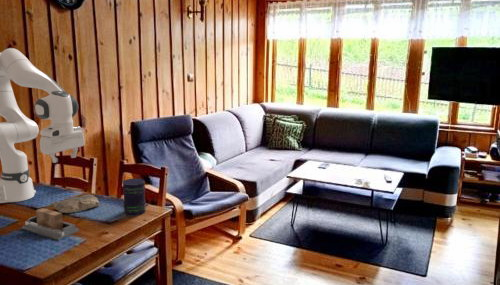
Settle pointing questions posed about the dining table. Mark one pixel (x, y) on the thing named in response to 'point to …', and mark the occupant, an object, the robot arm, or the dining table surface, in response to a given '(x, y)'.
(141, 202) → the storage jar
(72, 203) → the grey brown rock
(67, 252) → the dining table surface
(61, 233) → the grey rectangular tray
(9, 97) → the robot arm
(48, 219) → the wooden block
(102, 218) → the dining table surface
